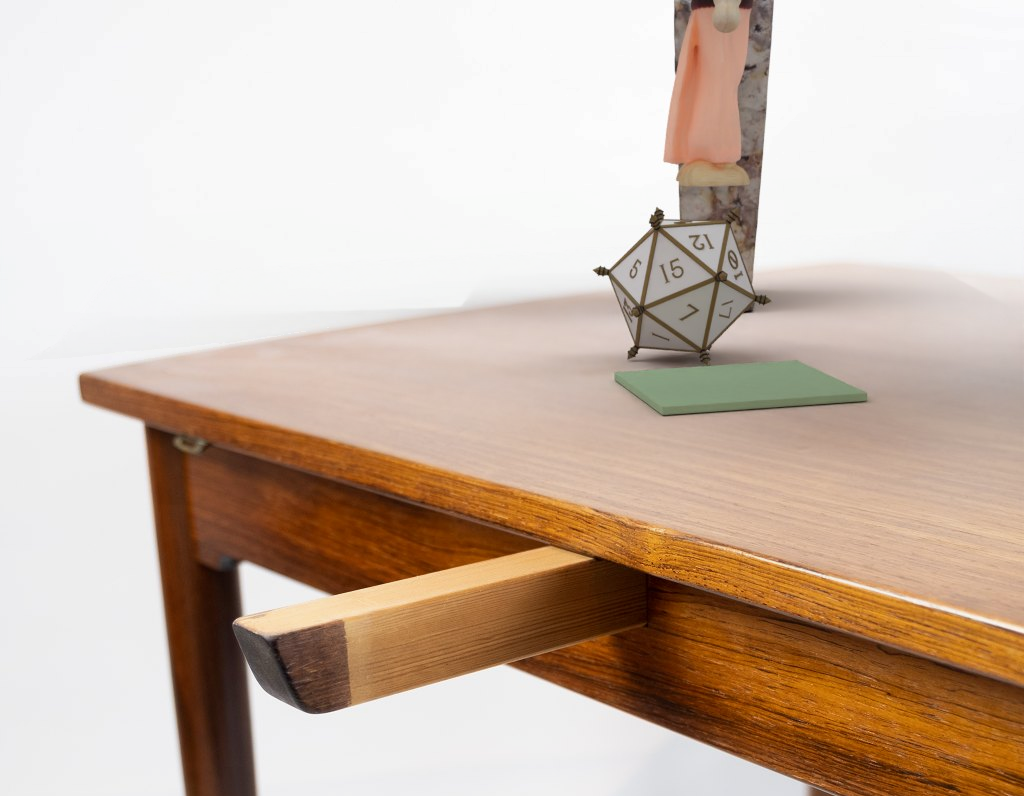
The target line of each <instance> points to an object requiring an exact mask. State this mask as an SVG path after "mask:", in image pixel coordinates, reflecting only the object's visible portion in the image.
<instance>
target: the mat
mask: <svg viewBox="0 0 1024 796" xmlns="http://www.w3.org/2000/svg"><path fill="white" fill-rule="evenodd" d="M613 376H614V377H613V378H614V381H616V382H617V383H618V384H620V385H621V386H622V387H624V388H625V389H627V390H628V391H629V392H630V393H632V394H633V395H634V396H636V397H638V398H639V399H640V400H642V402H643V403H645V404H647V405H648V406H649V407H651V408H652V409H654V410H655V411H656V412H657V413H659V414H661V415H662V416H671V415H672V416H673V415H685V414H701V413H713V412H727V411H743V410H756V409H757V410H758V409H771V408H781V407H782V408H786V407H787V408H788V407H799V406H801V407H802V406H812V405H814V406H815V405H827V404H828V405H829V404H841V403H842V404H843V403H855V402H867V401H868V394H869V393H868V392H867V391H865V390H862V389H860V388H858V387H856V386H853V385H852V384H849V383H847V382H845V381H843V380H840V379H839V378H837V377H834V376H832V375H830V374H827V373H825V372H823V371H821V370H820V369H817V368H815V367H812V366H811V365H808V364H806V363H804V362H803V361H799V360H797V359H794V360H779V361H778V360H777V361H764V362H763V361H762V362H748V363H747V362H746V363H732V364H719V365H708V366H706V365H704V366H703V365H702V366H689V367H688V366H685V367H674V368H657V369H656V368H655V369H644V370H628V371H627V370H626V371H614V373H613Z"/></svg>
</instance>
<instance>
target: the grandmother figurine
mask: <svg viewBox="0 0 1024 796" xmlns="http://www.w3.org/2000/svg"><path fill="white" fill-rule="evenodd" d="M752 7H753V0H691V9H692V12H691V15H690V18H689V21H688V25H687V29H686V32H685V36H684V39H683V44H682V48H681V52H680V56H679V62H678V67H677V72H676V75H675V78H674V81H673V87H672V91H671V97H670V103H669V109H668V116H667V123H666V129H665V139H664V150H663V160H662V161H663V163H668V164H671V165H678V164H680V163H684V164H683V165H682V167H681V168H680V169H679V171H677V175H676V178H675V181H676V182H678V186H679V185H681V186H689V187H708V186H740V185H749V184H750V181H749V177H748V174H747V173H746V171H745V170H744V169H743V168H741V167H740V166H738V165H736V162H737V161H738V160H740V158H741V129H740V121H739V109H738V101H737V92H738V85H739V83H740V81H741V78H742V75H743V72H744V67H745V62H746V57H747V48H748V37H749V19H750V13H751V10H752Z"/></svg>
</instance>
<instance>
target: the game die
mask: <svg viewBox="0 0 1024 796" xmlns="http://www.w3.org/2000/svg"><path fill="white" fill-rule="evenodd" d="M738 211H739V208H737V209H735V210H732V211H731V210H730V213H729V215H728V217H727V219H726V220H680V218H679V219H676V218H675V219H674V218H665V214H664V210H663V209H662V208H661V209H660V208H659V207H657V206H656V207H655V211H654V212H653V214H652V213H651V214H650V218H649V221H648V224H650V228H649V229H648V231H647V232H646V233H644V235H643V236H641V238H640V239H638V240H637V242H635V243H634V244H633V246H631V248H630V249H629V250H627V251H626V253H624V255H622V257H620V259H618V260H617V262H615V263H614V264H613V265H612V266H611V267H610V268H607V267H606V266H602V265H599V266H598V267H595V268H593V269H592V271H593V272H594V273H595V274H596V275H597V276H598V277H601V276H602V277H603V278H604V277H605V276H608V279H609V281H610V284H611V286H612V289H613V291H614V294H615V298H616V300H617V302H618V304H619V307H620V310H621V312H622V315H623V318H624V321H625V324H626V326H627V328H628V331H629V334H630V336H631V338H632V341H633V344H634V345H633V346H632V347H630V349H629V350H627V358H626V360H627V361H628V360H630V359H634V358H636V357H637V355H639V350H640V349H645V350H655V351H656V350H658V351H669V352H670V351H671V352H672V351H673V352H683V353H684V352H685V353H697V354H699V359H700V363H703V364H704V366H709V364H710V363H709V362H710V361H711V356H710V353H708V351H709V352H710V351H711V349H712V347H713V345H714V344H715V342H716V341H718V339H719V338H720V337H722V336H723V334H724V333H726V331H727V330H729V328H730V327H731V326H732V325H733V324H734V323H735V322H736V321H737V320H738V319H739V318H740V317H742V315H743V314H745V312H747V311H746V310H747V309H748V308H749V307H750V306H751V305H752V304H753V303H757V304H758V305H763V306H765V305H767V304H769V303H771V302H772V300H771V298H769V297H768V296H767V294H765V295H763V294H759V295H757V294H756V292H755V289H754V286H753V282H752V283H751V280H750V278H749V275H748V272H747V269H746V266H745V264H744V261H743V258H742V255H741V252H740V250H739V247H738V244H737V241H736V238H735V236H734V233H733V230H732V227H731V223H732V222H733V221H735V219H736V218H738Z"/></svg>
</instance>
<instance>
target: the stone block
mask: <svg viewBox="0 0 1024 796" xmlns="http://www.w3.org/2000/svg"><path fill="white" fill-rule="evenodd" d="M774 4H775V0H753V7H752V10H751V13H750V19H749V37H748V48H747V57H746V62H745V67H744V72H743V75H742V78H741V81H740V83H739V85H738V92H737V101H738V109H739V121H740V129H741V158H740V160H738V161H737V162H736V165H738V166H740V167H741V168H743V169H744V170H745V171H746V173H747V174H748V177H749V181H750V184H749V185H740V186H708V187H689V186H681V185H679V184H678V204H679V205H678V207H679V220H726V219H727V217H728V215H729V213H730V210H731V211H732V210H735V209H737V208H739V211H738V218H736V219H735V221H733V222H732V223H731V227H732V230H733V233H734V236H735V238H736V241H737V244H738V247H739V250H740V252H741V255H742V258H743V261H744V264H745V266H746V269H747V272H748V275H749V278H750V280H751V283H752V284H753V281H754V266H755V255H756V243H757V232H758V222H759V209H760V208H759V206H760V194H761V185H762V184H761V183H762V171H763V161H764V147H765V134H766V121H767V109H768V108H767V107H768V91H769V77H770V65H771V64H770V63H771V51H772V39H773V37H772V36H773V22H774V9H775V8H774V6H775V5H774ZM673 11H674V12H673V37H674V38H673V40H674V41H673V43H674V75H675V76H676V72H677V67H678V62H679V56H680V52H681V48H682V44H683V39H684V36H685V32H686V29H687V25H688V21H689V18H690V15H691V12H692V9H691V0H673ZM683 164H684V163H680V164H677V165H678V167H677V168H678V169H677V170H678V171H679V169H680V168H681V167H682V165H683ZM678 171H677V172H678ZM755 304H756V302H754V303H753V304H752V305H751V306H750V307H749V308H748V309H747V310H746V311H745V312H748V311H750V312H751V311H754V310H755ZM753 309H754V310H753Z"/></svg>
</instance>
